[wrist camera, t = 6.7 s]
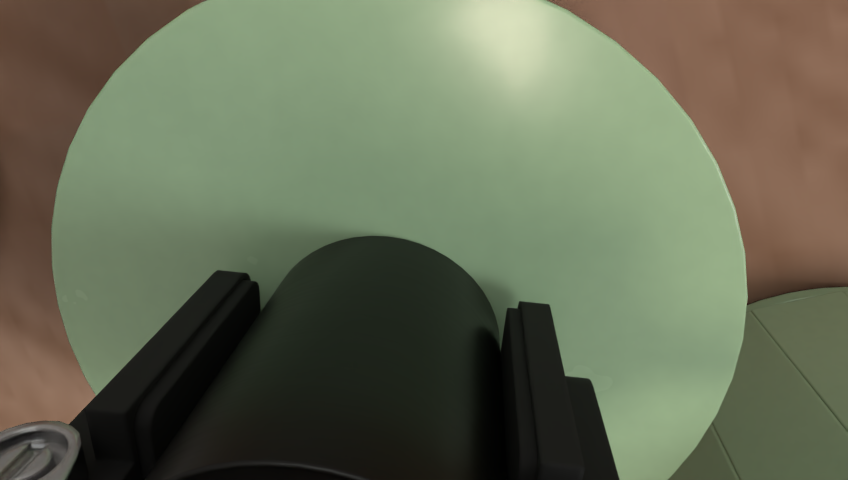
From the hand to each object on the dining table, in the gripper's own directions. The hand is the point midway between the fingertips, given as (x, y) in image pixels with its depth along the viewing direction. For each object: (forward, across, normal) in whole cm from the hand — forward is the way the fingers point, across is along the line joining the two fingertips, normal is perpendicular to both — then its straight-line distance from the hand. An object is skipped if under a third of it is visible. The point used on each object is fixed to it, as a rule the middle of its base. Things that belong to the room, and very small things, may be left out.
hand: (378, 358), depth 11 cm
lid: (+1, 0, 0) cm, 1 cm away
